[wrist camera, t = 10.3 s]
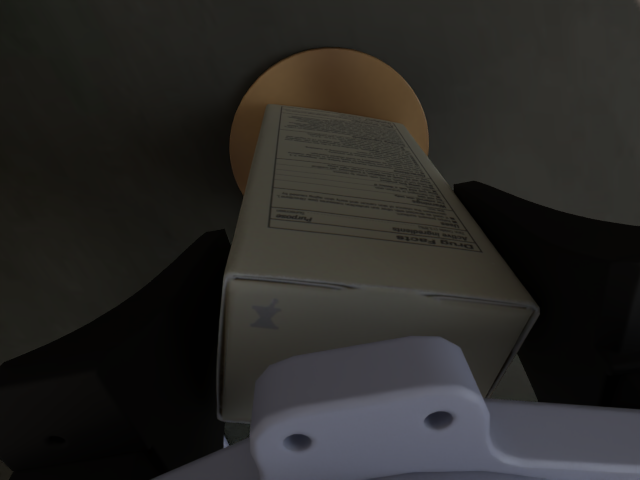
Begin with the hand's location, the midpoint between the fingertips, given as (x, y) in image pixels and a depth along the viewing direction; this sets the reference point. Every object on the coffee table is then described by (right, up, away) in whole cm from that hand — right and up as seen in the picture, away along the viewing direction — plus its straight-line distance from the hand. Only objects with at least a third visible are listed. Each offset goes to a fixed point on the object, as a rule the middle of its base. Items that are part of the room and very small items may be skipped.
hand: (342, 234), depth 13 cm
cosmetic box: (0, +4, +6) cm, 7 cm away
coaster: (0, +4, +6) cm, 7 cm away
